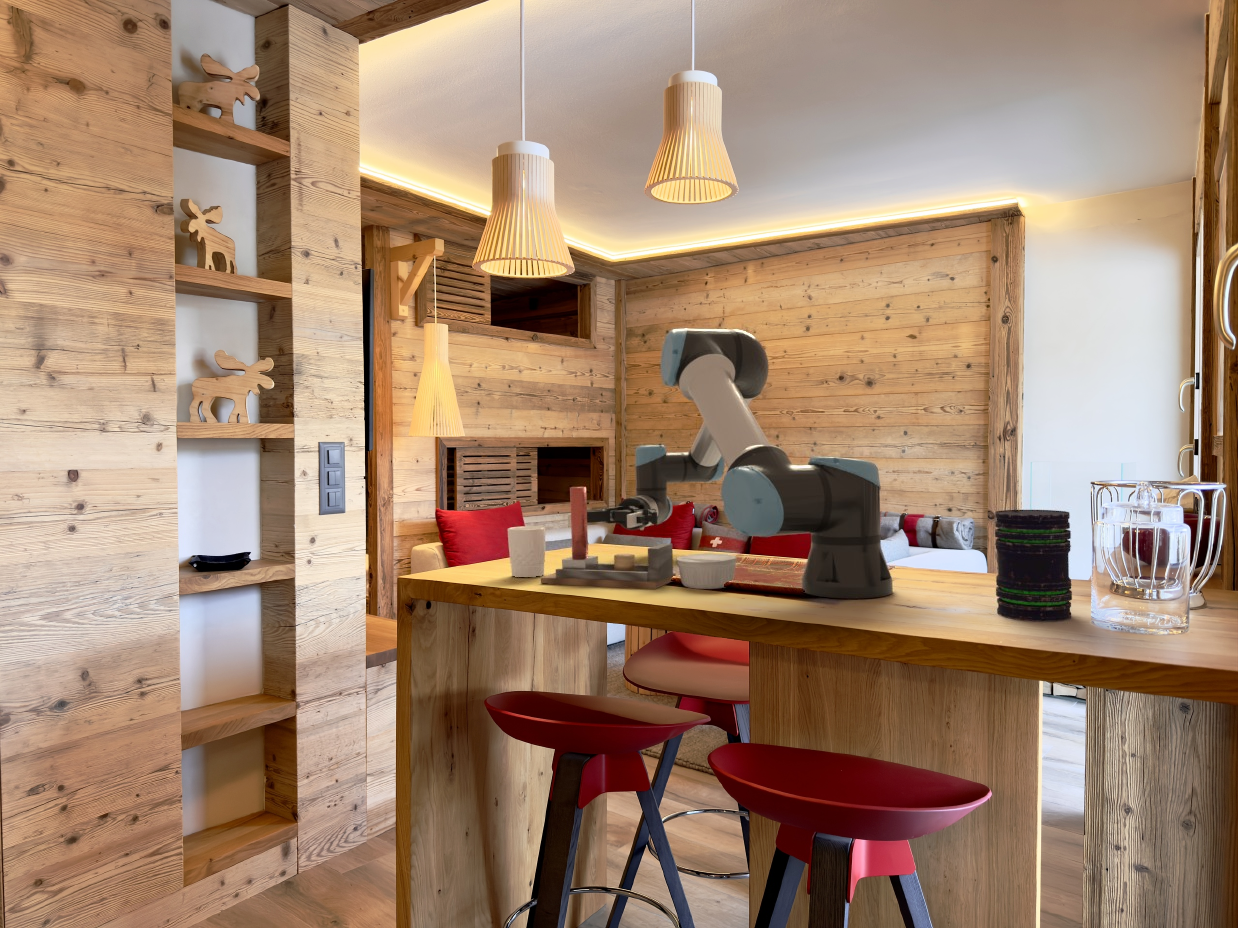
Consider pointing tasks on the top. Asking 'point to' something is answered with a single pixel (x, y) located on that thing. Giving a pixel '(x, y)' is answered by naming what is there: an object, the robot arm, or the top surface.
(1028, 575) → the dark brown cylinder
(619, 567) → the nut
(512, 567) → the white cup
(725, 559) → the ramekin
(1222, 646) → the top surface
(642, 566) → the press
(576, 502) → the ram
